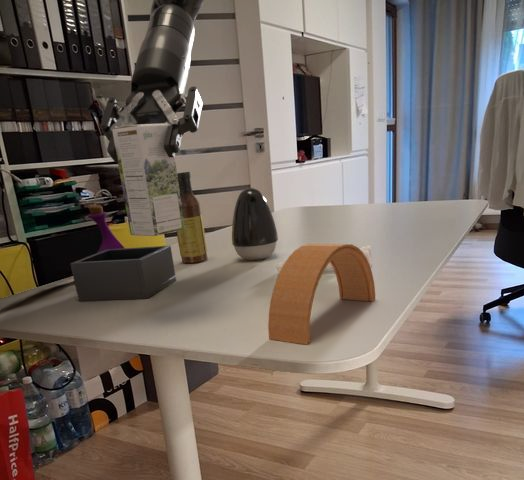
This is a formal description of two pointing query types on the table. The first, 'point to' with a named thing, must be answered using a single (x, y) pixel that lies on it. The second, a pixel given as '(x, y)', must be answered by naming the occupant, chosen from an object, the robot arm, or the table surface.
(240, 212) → the black white egg shape
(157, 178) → the syrup box
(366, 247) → the figurine
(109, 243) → the purple potion bottle
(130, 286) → the open box
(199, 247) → the sauce bottle
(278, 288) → the arch
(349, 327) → the table surface
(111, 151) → the robot arm
